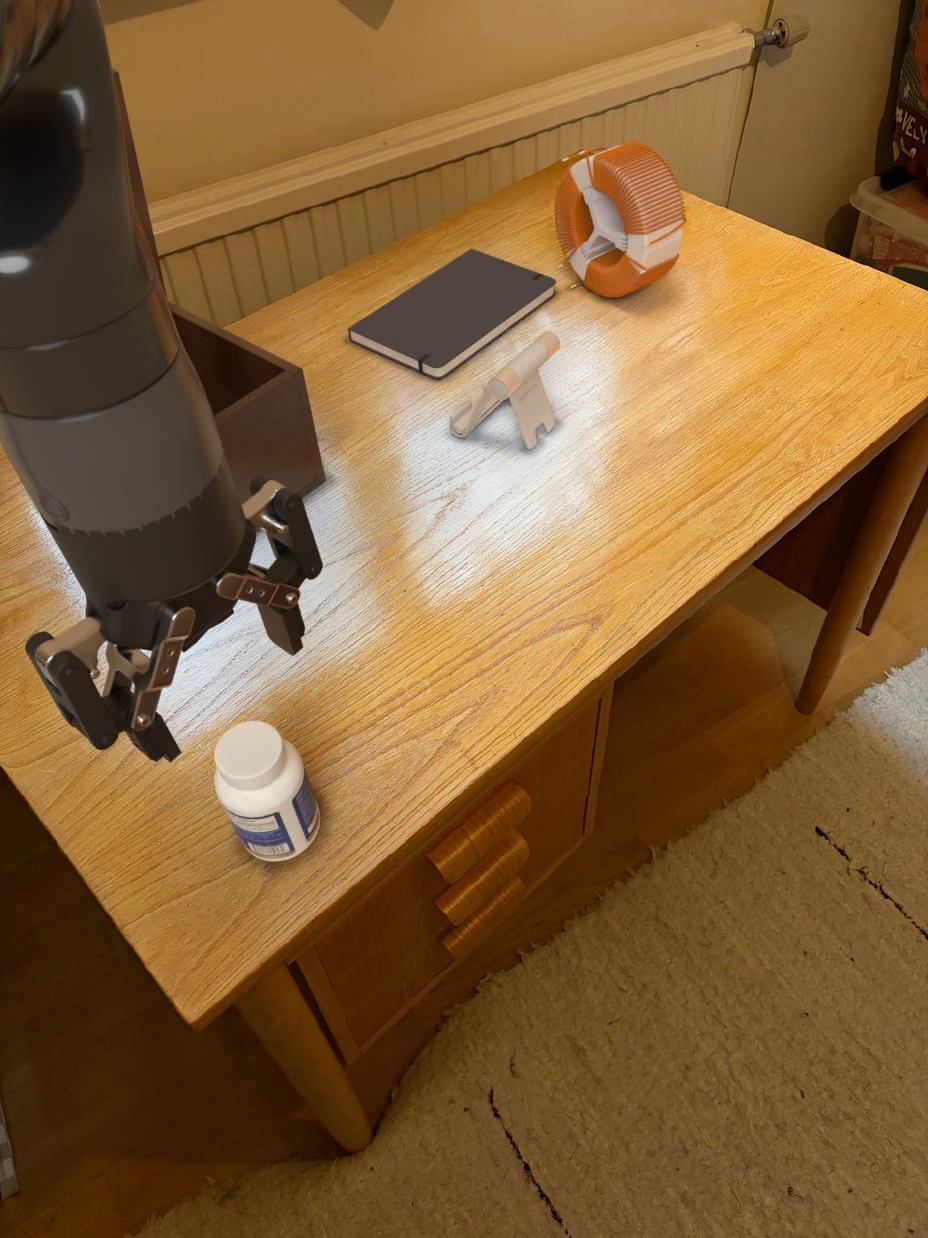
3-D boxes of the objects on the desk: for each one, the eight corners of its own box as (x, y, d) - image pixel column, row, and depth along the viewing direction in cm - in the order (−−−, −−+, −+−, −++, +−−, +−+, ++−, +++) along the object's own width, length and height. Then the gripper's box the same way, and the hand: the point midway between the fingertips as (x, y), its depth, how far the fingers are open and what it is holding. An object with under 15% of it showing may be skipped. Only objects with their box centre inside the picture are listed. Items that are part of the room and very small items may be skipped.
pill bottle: (288, 775, 61) (258, 694, 53) (338, 825, 58) (312, 747, 51) (224, 826, 58) (182, 749, 51) (272, 881, 56) (236, 807, 48)
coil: (588, 253, 105) (598, 120, 94) (679, 303, 97) (702, 164, 86) (544, 272, 103) (549, 138, 92) (634, 326, 95) (652, 186, 84)
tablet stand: (499, 388, 89) (499, 313, 82) (566, 414, 85) (571, 338, 79) (449, 434, 84) (445, 358, 78) (518, 463, 81) (519, 386, 75)
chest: (326, 480, 80) (303, 368, 71) (207, 568, 74) (165, 457, 65) (201, 409, 88) (165, 299, 79) (83, 482, 82) (30, 372, 72)
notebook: (471, 260, 105) (349, 341, 95) (471, 247, 104) (347, 328, 94) (558, 292, 100) (438, 381, 90) (559, 279, 99) (437, 368, 88)
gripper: (204, 344, 40) (278, 585, 52) (-92, 519, 33) (75, 748, 45) (320, 404, 36) (370, 646, 49) (18, 612, 29) (165, 832, 42)
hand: (228, 695), depth 47 cm, fingers open, 8 cm apart
